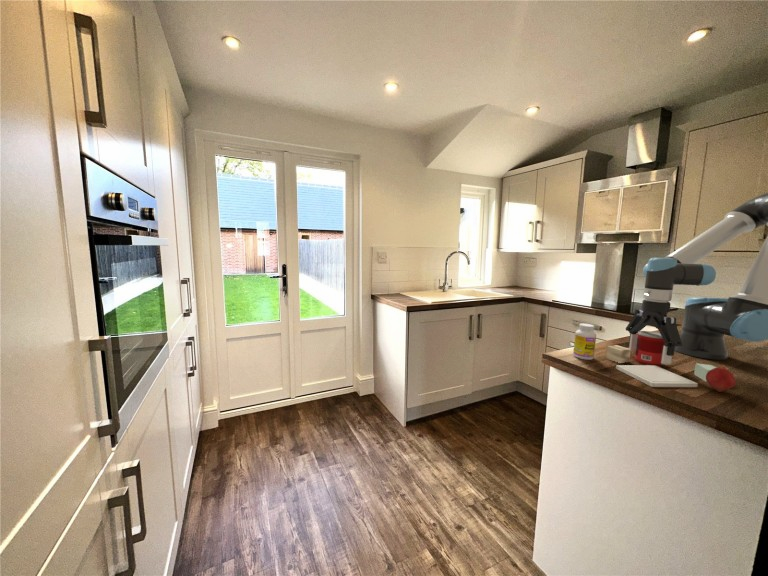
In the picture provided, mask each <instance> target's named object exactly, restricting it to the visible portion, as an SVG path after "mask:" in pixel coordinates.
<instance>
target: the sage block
mask: <svg viewBox="0 0 768 576" xmlns="http://www.w3.org/2000/svg"><path fill="white" fill-rule="evenodd" d="M694 367H695V368H694V373H693V374H694V375H695V376H696V377H698V378H699V379H701V380H702V381H704V382H706V383H708V382H707V380H706V374H707V373H708V372H709V371H710V370H712V369H714V368H717V367H716V366H714V365H712V364H707V363H706V364H704V363H695V366H694Z"/></svg>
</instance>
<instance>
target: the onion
mask: <svg viewBox="0 0 768 576" xmlns="http://www.w3.org/2000/svg"><path fill="white" fill-rule="evenodd" d="M706 380H707V382H706V383H708V384H709V386H711V387H712V388H713V389H715V390H716V391H717V392H724V391H727V390H729V389H733V388H734V387H735V385H736V384H737V379H736V377H735V376H734V375H733V373H732V372H730V371H729V370H728V369H727V368H726V366H725V365H721V366H718V367H716V368H714V369H712V370H710V371H709V372H708V373H707V374H706Z"/></svg>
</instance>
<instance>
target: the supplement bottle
mask: <svg viewBox="0 0 768 576" xmlns="http://www.w3.org/2000/svg"><path fill="white" fill-rule="evenodd" d="M594 330H595V325H594V324H590V323H579V329H577V330H576V331H575V334H574V335H575V336H574V344H573V354H572V355H573V356H574V357H576V358H578V359H581V360H585V361H587V360H590V361H591V360H593V359H594V358H595V349H596V342H597V334H596V332H594Z"/></svg>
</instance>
